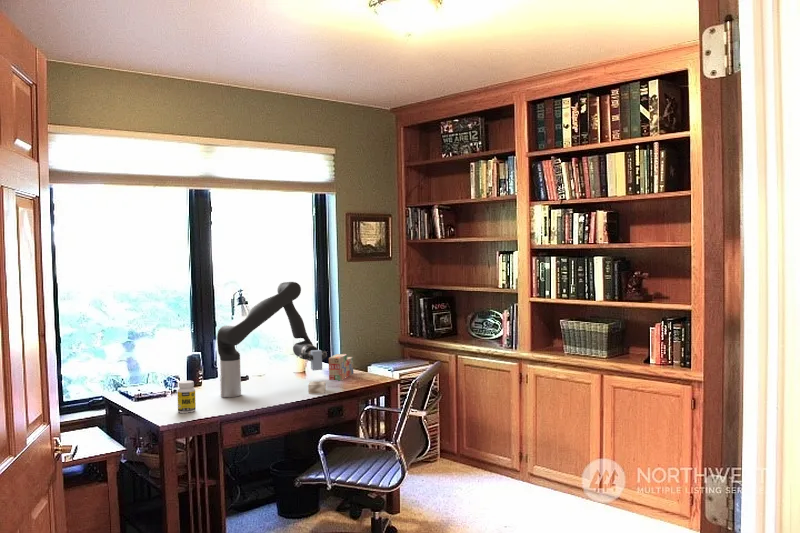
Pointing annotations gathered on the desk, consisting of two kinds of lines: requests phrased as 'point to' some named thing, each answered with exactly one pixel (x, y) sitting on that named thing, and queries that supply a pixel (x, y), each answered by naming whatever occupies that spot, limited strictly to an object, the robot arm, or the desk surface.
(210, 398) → the desk surface
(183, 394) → the supplement bottle
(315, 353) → the slate block
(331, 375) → the stack of blocks
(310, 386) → the cream base block
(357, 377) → the desk surface
